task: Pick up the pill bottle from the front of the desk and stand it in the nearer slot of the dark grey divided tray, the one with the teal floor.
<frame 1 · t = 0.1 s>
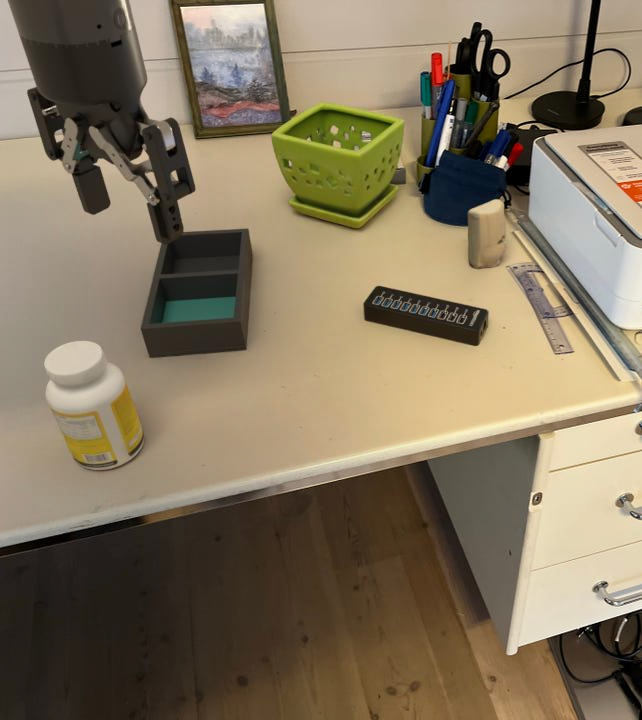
hand: (134, 224, 63), 22 cm above the table, tool pointing down, fingers open, 8 cm apart
cream tall rounded block: (486, 260, 102), on the table
dark grey divided tray: (205, 301, 91), on the table
multiport hub: (426, 323, 90), on the table
flower pot: (345, 209, 111), on the table
pill bottle: (110, 449, 73), on the table
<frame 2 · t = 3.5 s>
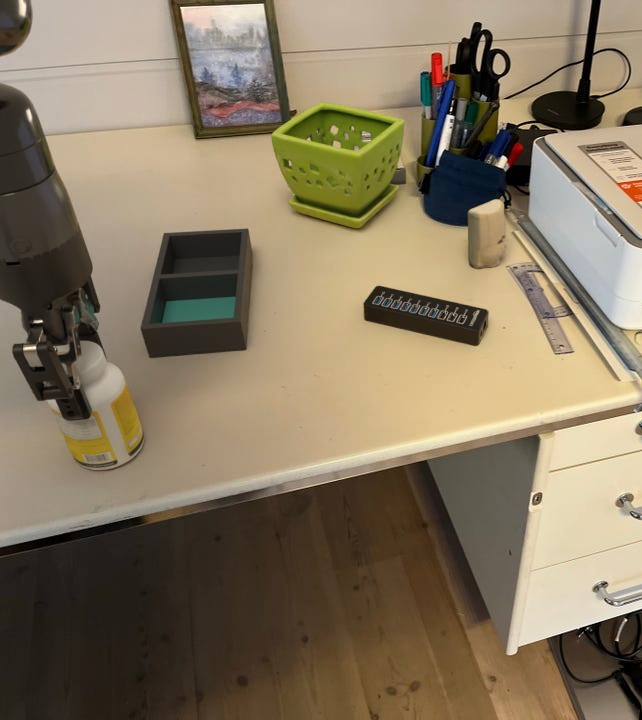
hand: (87, 389, 68), 8 cm above the table, tool pointing down, fingers closed on pill bottle, 6 cm apart
pill bottle: (110, 449, 73), on the table, touching gripper
everything else where it was.
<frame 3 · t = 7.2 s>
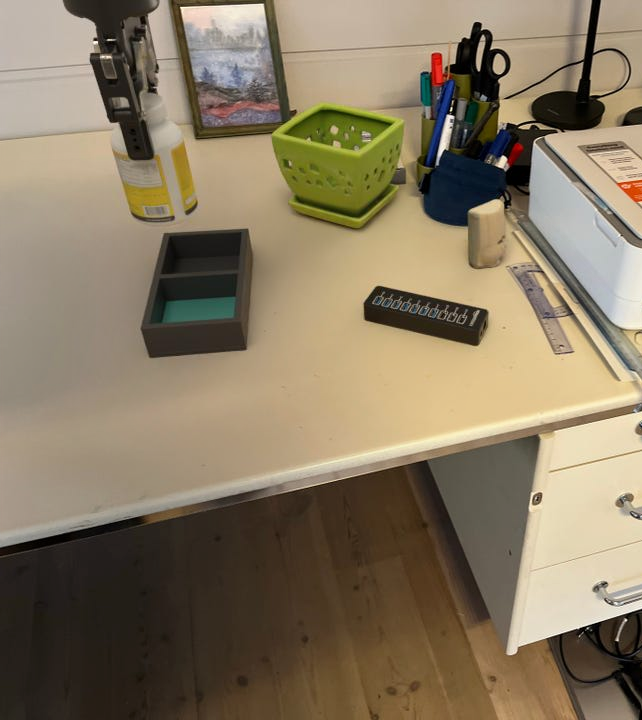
hand: (147, 141, 72), 23 cm above the table, tool pointing down, fingers closed on pill bottle, 6 cm apart
pill bottle: (166, 215, 77), point 15 cm above the table, touching gripper
everything else where it was.
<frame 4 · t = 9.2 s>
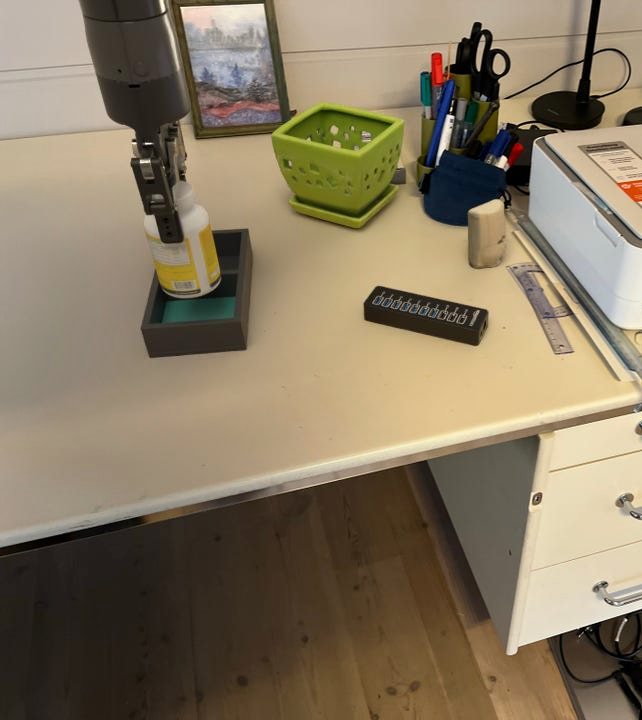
hand: (177, 223, 79), 14 cm above the table, tool pointing down, fingers closed on pill bottle, 6 cm apart
pill bottle: (192, 286, 84), point 6 cm above the table, touching gripper
everything else where it was.
when the fingers open (9 cm above the table, at t = 11.0 s): pill bottle stays where it is, resting on dark grey divided tray.
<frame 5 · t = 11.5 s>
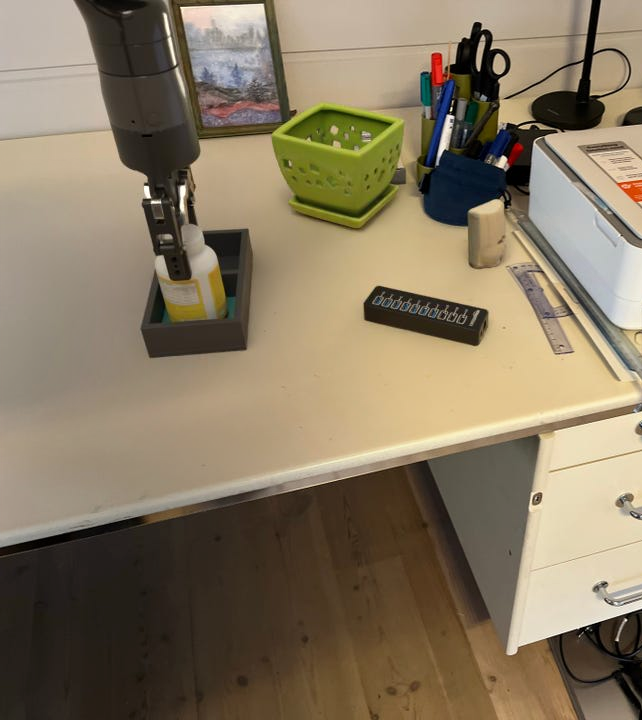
hand: (185, 257, 82), 9 cm above the table, tool pointing down, fingers open, 8 cm apart
pill bottle: (201, 322, 87), point 1 cm above the table, touching dark grey divided tray
everything else where it was.
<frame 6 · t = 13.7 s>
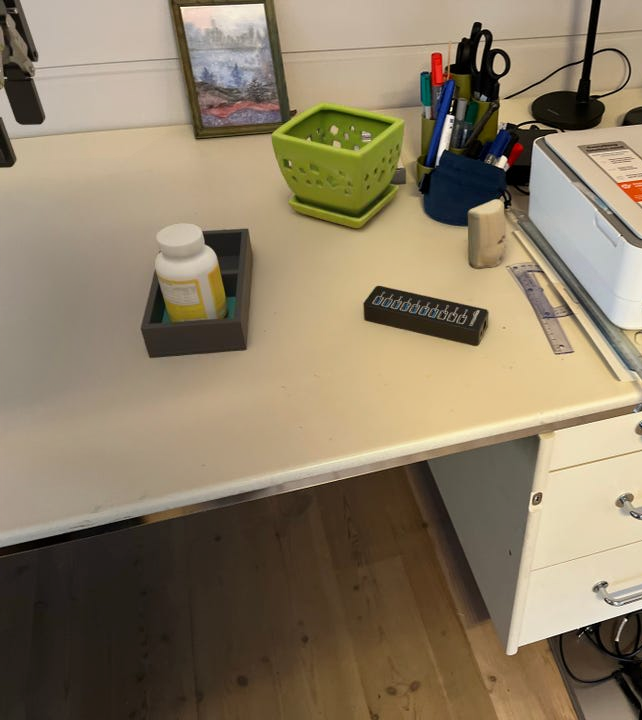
hand: (17, 143, 61), 27 cm above the table, tool pointing down, fingers open, 8 cm apart
nothing on the table moved.
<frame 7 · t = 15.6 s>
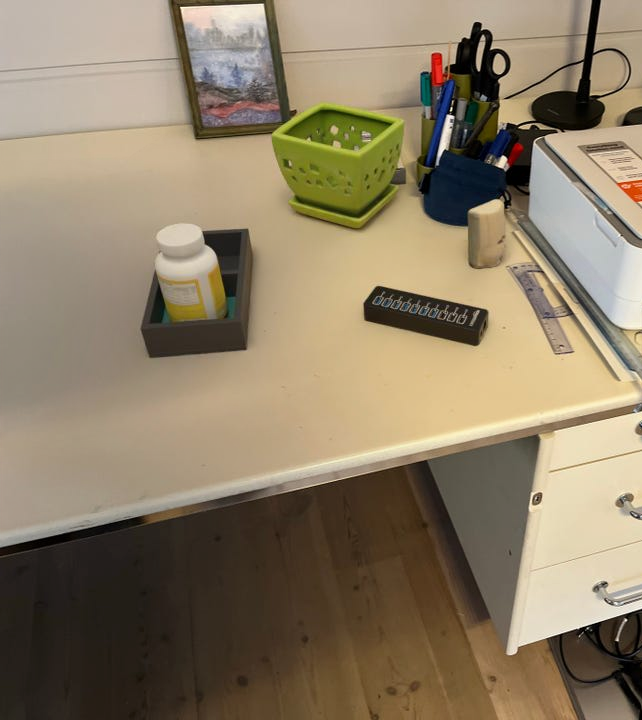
nothing on the table moved.
at the end: pill bottle inside the target area in the dark grey divided tray (0.2 cm from its centre), point 0.6 cm above the dark grey divided tray's base; pill bottle tilted 0°; the gripper is holding nothing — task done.
